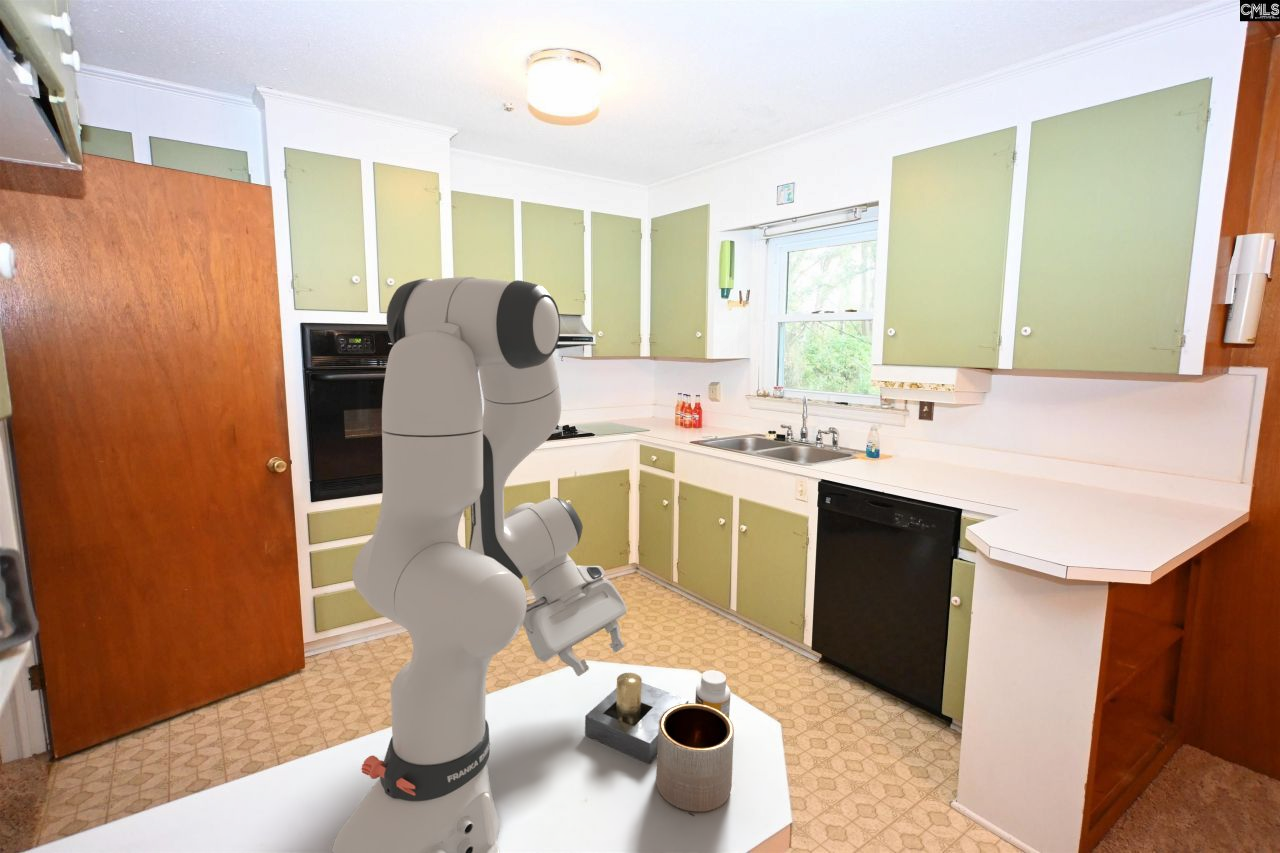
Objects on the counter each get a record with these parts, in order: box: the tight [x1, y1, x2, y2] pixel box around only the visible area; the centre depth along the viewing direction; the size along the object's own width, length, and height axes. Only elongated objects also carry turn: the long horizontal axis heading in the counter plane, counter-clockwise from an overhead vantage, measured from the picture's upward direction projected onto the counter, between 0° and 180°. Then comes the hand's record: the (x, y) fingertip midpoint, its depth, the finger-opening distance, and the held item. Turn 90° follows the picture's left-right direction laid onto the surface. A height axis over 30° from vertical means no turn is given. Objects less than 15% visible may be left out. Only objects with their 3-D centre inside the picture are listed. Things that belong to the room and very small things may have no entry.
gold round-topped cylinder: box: [616, 672, 643, 727], centre depth 98 cm, size 4×4×9 cm
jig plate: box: [584, 682, 689, 765], centre depth 99 cm, size 13×12×4 cm
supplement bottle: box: [694, 669, 731, 719], centre depth 97 cm, size 6×6×10 cm
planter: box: [655, 702, 735, 813], centre depth 86 cm, size 11×11×10 cm
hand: (602, 661), depth 100 cm, fingers open, 8 cm apart
